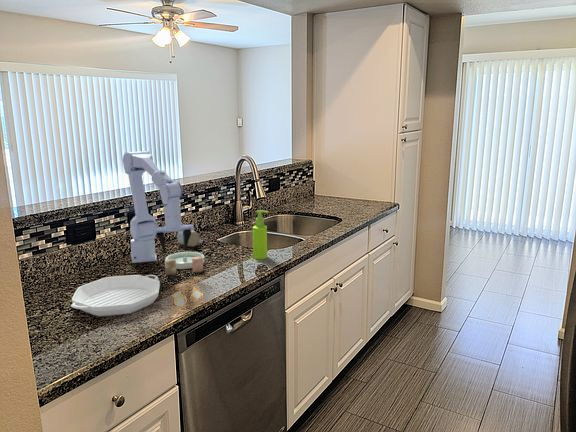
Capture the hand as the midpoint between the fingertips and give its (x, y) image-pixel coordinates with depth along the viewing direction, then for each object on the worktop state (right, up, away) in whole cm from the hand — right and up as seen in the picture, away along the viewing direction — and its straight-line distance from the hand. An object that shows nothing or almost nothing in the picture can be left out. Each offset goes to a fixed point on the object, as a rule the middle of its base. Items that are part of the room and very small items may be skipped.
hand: (174, 250), depth 168 cm
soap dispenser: (+31, -4, +20) cm, 37 cm away
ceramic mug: (-2, 0, +38) cm, 38 cm away
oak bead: (-2, -9, +1) cm, 9 cm away
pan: (-12, -15, -24) cm, 31 cm away
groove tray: (+1, -6, +13) cm, 14 cm away
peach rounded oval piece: (+8, -8, +4) cm, 12 cm away
